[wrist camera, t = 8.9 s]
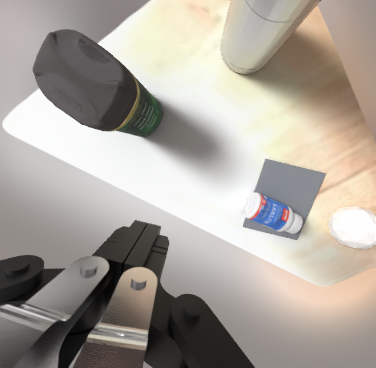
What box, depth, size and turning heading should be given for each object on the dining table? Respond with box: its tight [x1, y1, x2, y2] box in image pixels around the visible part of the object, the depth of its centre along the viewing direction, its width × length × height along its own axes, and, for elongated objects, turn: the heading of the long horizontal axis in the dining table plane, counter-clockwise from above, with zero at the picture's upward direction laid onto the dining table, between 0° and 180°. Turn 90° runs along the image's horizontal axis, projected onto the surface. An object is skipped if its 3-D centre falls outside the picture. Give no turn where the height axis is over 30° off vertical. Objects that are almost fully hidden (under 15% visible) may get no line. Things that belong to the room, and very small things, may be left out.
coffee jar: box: [33, 29, 163, 137], centre depth 25 cm, size 10×8×19 cm
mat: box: [243, 159, 326, 240], centre depth 37 cm, size 15×12×1 cm
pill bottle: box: [244, 193, 303, 234], centre depth 35 cm, size 6×5×10 cm
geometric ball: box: [328, 206, 376, 249], centre depth 34 cm, size 8×8×8 cm
